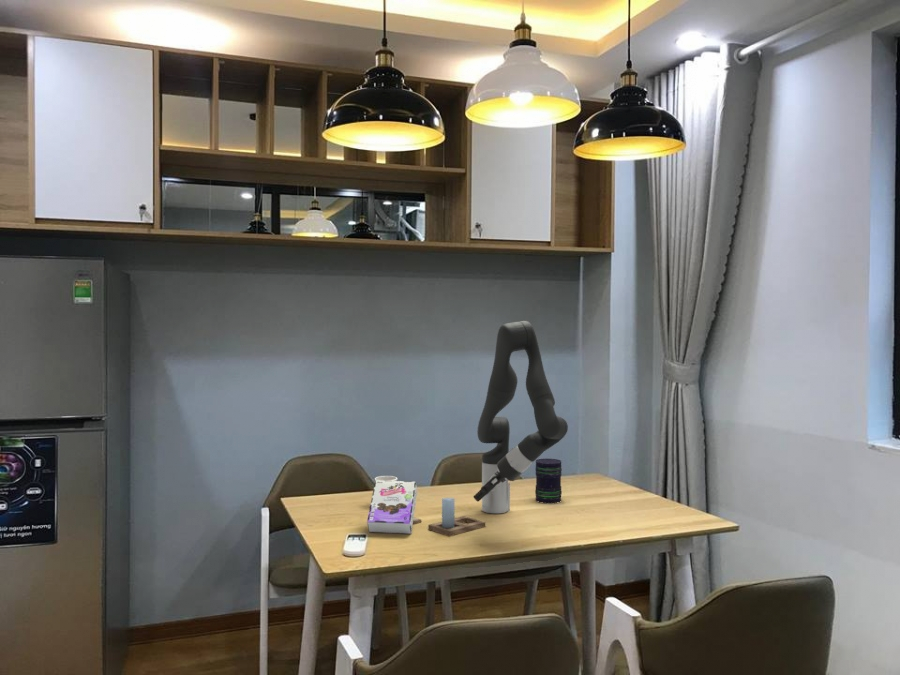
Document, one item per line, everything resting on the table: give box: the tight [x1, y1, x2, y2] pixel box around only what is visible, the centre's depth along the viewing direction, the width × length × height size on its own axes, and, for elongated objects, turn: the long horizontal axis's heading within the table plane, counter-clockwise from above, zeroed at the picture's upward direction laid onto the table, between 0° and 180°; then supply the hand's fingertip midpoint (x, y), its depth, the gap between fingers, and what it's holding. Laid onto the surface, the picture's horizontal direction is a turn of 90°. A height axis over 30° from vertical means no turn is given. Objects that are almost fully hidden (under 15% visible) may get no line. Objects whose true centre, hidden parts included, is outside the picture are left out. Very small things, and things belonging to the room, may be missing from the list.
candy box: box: [366, 479, 418, 535], centre depth 228 cm, size 14×6×16 cm
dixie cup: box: [374, 475, 398, 481], centre depth 259 cm, size 8×8×10 cm
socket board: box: [427, 515, 486, 537], centre depth 230 cm, size 16×10×2 cm, turn 133°
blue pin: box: [441, 497, 456, 529], centre depth 227 cm, size 4×4×10 cm
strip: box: [413, 516, 422, 525], centre depth 235 cm, size 7×4×8 cm, turn 133°
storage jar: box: [534, 458, 563, 504], centre depth 267 cm, size 10×10×15 cm
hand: (479, 496), depth 223 cm, fingers open, 8 cm apart
